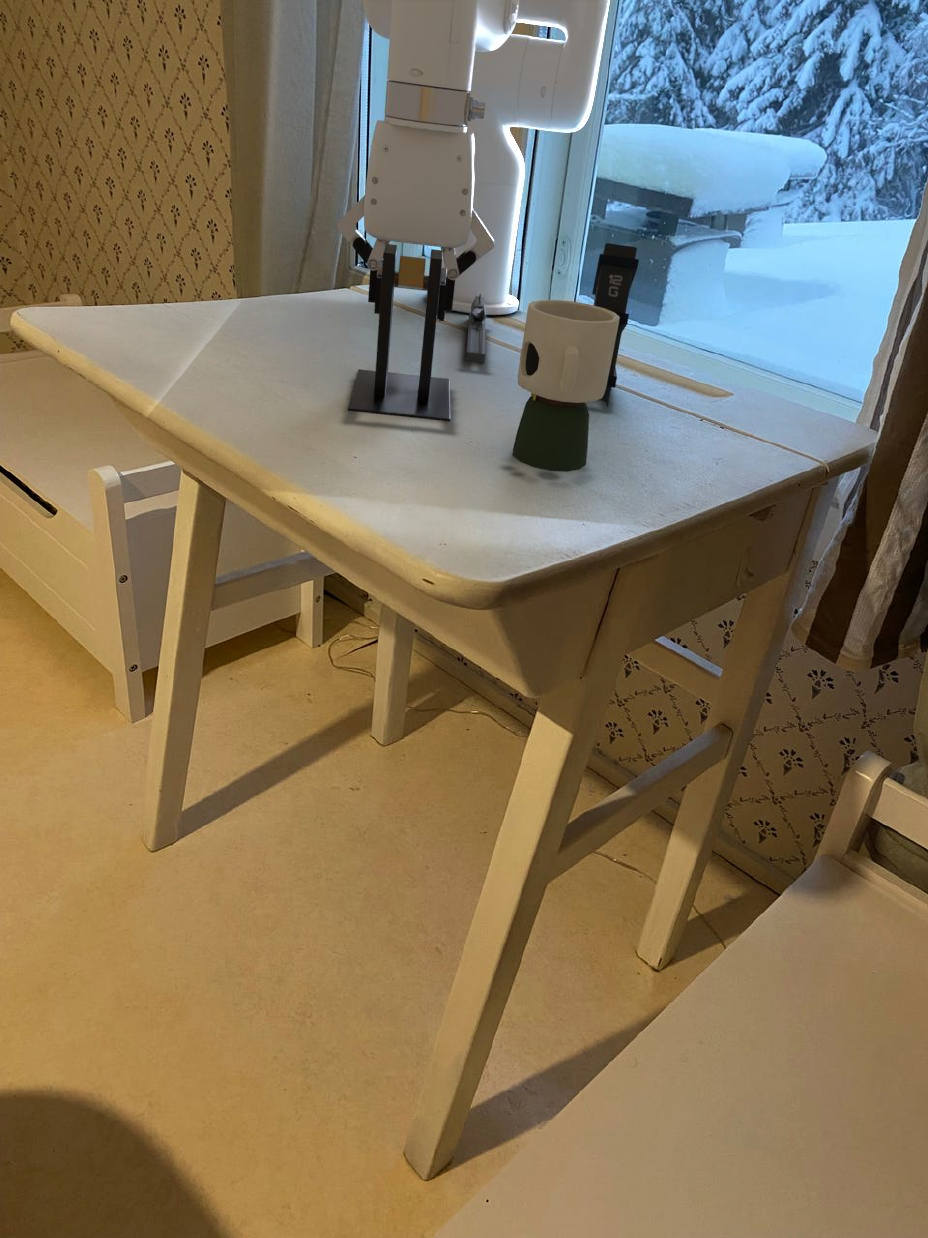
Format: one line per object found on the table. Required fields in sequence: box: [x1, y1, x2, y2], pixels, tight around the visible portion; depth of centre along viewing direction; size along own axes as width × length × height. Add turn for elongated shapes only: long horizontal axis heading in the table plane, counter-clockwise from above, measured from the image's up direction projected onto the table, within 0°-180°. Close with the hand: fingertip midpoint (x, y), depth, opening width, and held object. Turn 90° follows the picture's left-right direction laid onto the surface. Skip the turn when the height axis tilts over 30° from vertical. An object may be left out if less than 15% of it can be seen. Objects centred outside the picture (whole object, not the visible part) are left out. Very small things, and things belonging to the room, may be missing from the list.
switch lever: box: [394, 255, 440, 292], centre depth 86 cm, size 13×6×2 cm, turn 1°
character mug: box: [512, 299, 620, 473], centre depth 75 cm, size 11×7×13 cm, turn 177°
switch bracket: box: [347, 243, 451, 422], centre depth 84 cm, size 12×9×14 cm
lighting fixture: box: [465, 294, 487, 364], centre depth 107 cm, size 19×3×4 cm, turn 179°
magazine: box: [591, 242, 640, 408], centre depth 95 cm, size 4×13×15 cm, turn 172°
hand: (409, 312), depth 93 cm, fingers closed on switch lever, 5 cm apart
